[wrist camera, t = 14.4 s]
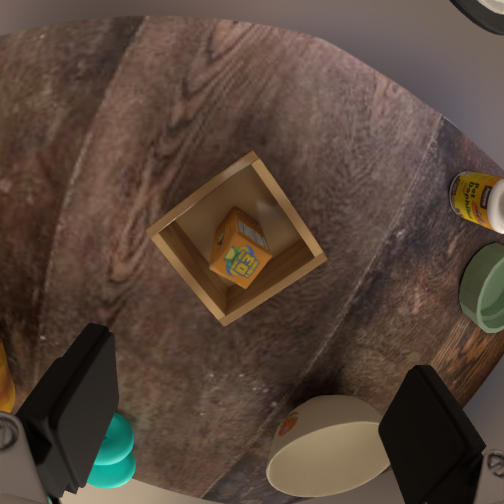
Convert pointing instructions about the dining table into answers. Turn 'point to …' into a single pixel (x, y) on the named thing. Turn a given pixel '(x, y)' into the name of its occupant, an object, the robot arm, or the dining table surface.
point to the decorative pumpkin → (5, 383)
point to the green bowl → (485, 288)
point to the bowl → (326, 447)
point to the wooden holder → (208, 220)
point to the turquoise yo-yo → (114, 456)
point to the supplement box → (239, 248)
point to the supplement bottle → (479, 199)
